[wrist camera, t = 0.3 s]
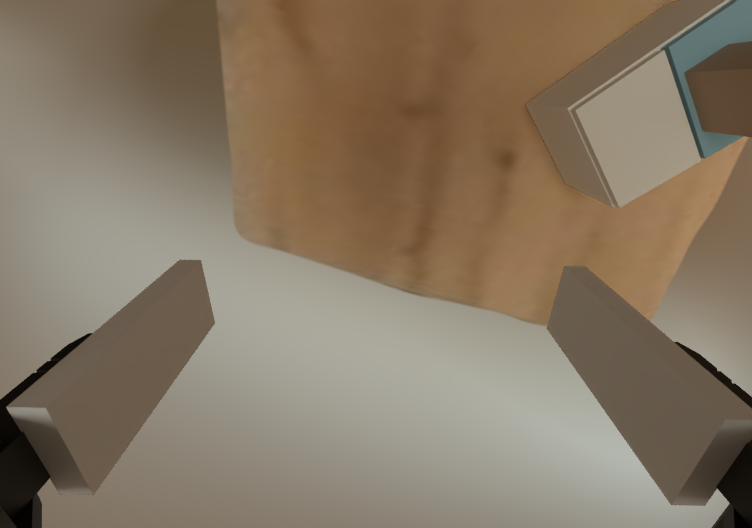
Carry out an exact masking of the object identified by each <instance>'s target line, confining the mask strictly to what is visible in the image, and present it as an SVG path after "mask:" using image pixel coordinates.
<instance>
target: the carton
mask: <svg viewBox="0 0 752 528" xmlns="http://www.w3.org/2000/svg"><path fill="white" fill-rule="evenodd" d="M730 1H731V0H679V1H676V2H673V3H670V4H666V5H665V6H663V7H662V8H660V9H659V10H658V11H656V12H655V13H653V14H652V15H651V16H649V17H648V18H646V19H645V20H644V21H642V22H641V23H639V24H638V25H636V26H635V27H634V28H632V29H631V30H629V31H628V32H627V33H625V34H624V35H622V36H621V37H620V38H618V39H617V40H615V41H614V42H612V43H611V44H610V45H608V46H607V47H605V48H604V49H603V50H601V51H600V52H598V53H597V54H596V55H594V56H593V57H591V58H590V59H589V60H587V61H586V62H584V63H583V64H581V65H580V66H579V67H577V68H576V69H574V70H573V71H572V72H570V73H569V74H567V75H566V76H565V77H563V78H562V79H560V80H559V81H558V82H556V83H555V84H553V85H552V86H550V87H549V88H548V89H546V90H545V91H543V92H542V93H541V94H539V95H538V96H536V97H535V98H534V99H532V100H531V101H529V102H528V103H526V104H525V105H526V107H527V109H528V111H529V113H530V115H531V117H532V119H533V121H534V123H535V125H536V127H537V129H538V131H539V133H540V135H541V137H542V139H543V141H544V143H545V145H546V147H547V149H548V151H549V153H550V155H551V156H552V158H553V160H554V162H555V164H556V166H557V168H558V170H559V172H560V174H561V176H562V178H563V180H564V182H565V184H567V185H569V186H571V187H573V188H575V189H577V190H579V191H581V192H583V193H585V194H587V195H589V196H591V197H593V198H595V199H597V200H599V201H601V202H603V203H605V204H607V205H609V206H611V207H615V206H617V207H619V208H621V207H622V206H624V205H626V204H627V203H629V202H631V201H633V200H634V199H636V198H638V197H639V196H641V195H643V194H645V193H646V192H648V191H650V190H652V189H653V188H655V187H657V186H658V185H660V184H662V183H664V182H665V181H667V180H669V179H671V178H672V177H674V176H676V175H677V174H679V173H681V172H683V171H684V170H686V169H688V168H690V167H691V166H693V165H695V164H696V163H698V162H700V161H701V159H700V155H699V152H698V149H697V146H696V143H695V140H694V137H693V134H692V131H691V128H690V125H689V122H688V119H687V116H686V113H685V110H684V107H683V104H682V101H681V98H680V95H679V92H678V89H677V86H676V83H675V80H674V77H673V74H672V71H671V68H670V65H669V62H668V59H667V56H666V53H665V50H661V48H662V47H663V46H665V45H666V44H668V43H669V42H671V41H672V40H674V39H675V38H677V37H678V36H680V35H681V34H683V33H684V32H686V31H687V30H689V29H690V28H691V27H693V26H694V25H696V24H697V23H699V22H700V21H702V20H703V19H705V18H706V17H708V16H709V15H711V14H712V13H714V12H715V11H716V10H718V9H719V8H721V7H722V6H724V5H725V4H727V3H728V2H730Z"/></svg>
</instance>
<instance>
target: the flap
mask: <svg viewBox="0 0 752 528" xmlns="http://www.w3.org/2000/svg"><path fill="white" fill-rule="evenodd" d="M661 50H665V53H666V56H667V59H668V62H669V65H670V68H671V71H672V74H673V77H674V80H675V83H676V86H677V89H678V92H679V95H680V98H681V101H682V104H683V107H684V110H685V113H686V116H687V119H688V122H689V125H690V128H691V131H692V134H693V137H694V140H695V143H696V146H697V149H698V152H699V155H700V158H707V157H709V156H710V155H712V154H714V153H715V152H717V151H719V150H721V149H722V148H724V147H726V146H728V145H729V144H731V143H733V142H734V141H736V140H738V139H740V138H741V137H743V136H747V137H752V0H731V1H730V2H728V3H727V4H725V5H724V6H722V7H721V8H719V9H718V10H716V11H715V12H714V13H712V14H711V15H709V16H708V17H706V18H705V19H703V20H702V21H700V22H699V23H697V24H696V25H694V26H693V27H691V28H690V29H689V30H687V31H686V32H684V33H683V34H681V35H680V36H678V37H677V38H675V39H674V40H672V41H671V42H669V43H668V44H666V45H665V46H663V47H662V48H661Z"/></svg>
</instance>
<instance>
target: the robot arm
mask: <svg viewBox="0 0 752 528" xmlns="http://www.w3.org/2000/svg"><path fill="white" fill-rule="evenodd" d="M214 323H215V321H214V316H213V312H212V308H211V303H210V299H209V294H208V290H207V285H206V281H205V276H204V272H203V268H202V263H201V260H179V261H178V262H176V263H175V264H174V265H173V266H172V267H171V268H169V269H168V270H167V271H166V272H165V273H164V274H162V275H161V276H160V277H159V278H158V279H156V280H155V281H154V282H153V283H152V284H151V285H149V286H148V287H147V288H146V289H145V290H143V291H142V292H141V293H140V294H139V295H138V296H137V297H135V298H134V299H133V300H132V301H131V302H130V303H128V304H127V305H126V306H125V307H123V308H122V309H121V310H120V311H119V312H118V313H116V314H115V315H114V316H113V317H112V318H110V319H109V320H108V321H107V322H106V323H105V324H103V325H102V326H101V327H100V328H99V329H97V330H96V331H95V332H94V333H89V334H87V335H85V336H83V337H81V338H79V339H78V340H76V341H74V342H72V343H70V344H68V345H67V346H66V347H64V348H63V349H62V350H61V351H59V352H58V353H57V354H56V355H55V356H53V357H52V358H51V361H47V362H46V363H45V364H44V365H42V366H41V367H40V368H39V369H37V372H36V373H33V374H31V375H30V376H29V377H28V378H26V379H25V380H24V381H23V382H21V383H20V384H19V385H18V386H17V387H15V388H14V389H13V390H12V391H10V392H9V393H8V394H7V395H6V396H4V397H3V398H2V399H1V400H0V528H42V503H41V501H40V498H39V496H38V494H37V492H38V491H39V490H40V489H41V487H42V486H43V485H44V484H45V483H46V482H47V480H48V479H49V478H50V479H51V481H52V483H53V484H54V486H55V487H56V489H57V491H58V492H59V494H61V495H94V494H95V492H96V491H97V489H98V488H99V487H100V485H101V484H102V482H103V481H104V479H105V478H106V477H107V475H108V474H109V472H110V471H111V470H112V468H113V467H114V465H115V464H116V463H117V461H118V460H119V458H120V457H121V455H122V454H123V453H124V451H125V450H126V448H127V447H128V446H129V444H130V442H131V441H132V440H133V438H134V437H135V436H136V434H137V433H138V431H139V430H140V428H141V427H142V426H143V424H144V423H145V421H146V420H147V418H148V417H149V416H150V414H151V413H152V411H153V410H154V409H155V407H156V406H157V404H158V403H159V402H160V400H161V399H162V397H163V396H164V395H165V393H166V392H167V390H168V389H169V387H170V386H171V385H172V383H173V382H174V380H175V379H176V378H177V376H178V375H179V373H180V372H181V370H182V369H183V368H184V366H185V365H186V363H187V362H188V361H189V359H190V358H191V356H192V355H193V353H194V352H195V351H196V349H197V348H198V346H199V345H200V344H201V342H202V341H203V339H204V338H205V336H206V335H207V334H208V332H209V331H210V329H211V328H212V326H213V325H214ZM547 329H548V331H549V332H550V334H551V335H552V337H553V338H554V339H555V341H556V342H557V344H558V345H559V347H560V348H561V349H562V351H563V352H564V354H565V355H566V357H567V358H568V359H569V361H570V362H571V363H572V365H573V366H574V368H575V369H576V371H577V372H578V373H579V375H580V376H581V378H582V379H583V381H584V382H585V383H586V385H587V386H588V388H589V389H590V391H591V392H592V393H593V395H594V396H595V398H596V399H597V400H598V402H599V403H600V405H601V406H602V408H603V409H604V410H605V412H606V413H607V415H608V416H609V418H610V419H611V420H612V422H613V423H614V424H615V426H616V427H617V429H618V430H619V432H620V433H621V435H622V436H623V437H624V439H625V440H626V441H627V443H628V444H629V446H630V447H631V449H632V450H633V452H634V453H635V454H636V456H637V457H638V459H639V460H640V462H641V463H642V464H643V466H644V467H645V469H646V470H647V471H648V473H649V474H650V476H651V477H652V479H653V480H654V481H655V483H656V484H657V486H658V487H659V488H660V489H661V491H662V493H663V494H664V496H665V497H666V498H667V500H668V501H669V502H670V504H671V505H701V506H705V505H706V503H707V502H708V500H709V499H710V498H711V496H712V495H713V493H714V492H715V491H716V489H717V488H718V490H719V491H720V492H721V493H722V494H723V496H724V497H725V498H726V499H727V500H728V501H729V503H730V504H729V505H728V507H727V508H726V509H725V511H724V512H723V513H722V515H721V516H720V517H719V519H718V520H717V521H716V523H715V524H714V525H713V527H712V528H752V397H751V396H750V395H749V394H747V393H746V392H745V391H743V390H742V389H741V388H740V387H739V386H738V385H736V384H732V382H731V380H730V379H729V378H728V377H727V376H725V375H724V374H723V373H722V372H721V371H717V368H716V367H714V366H713V365H712V364H711V363H710V362H708V361H707V360H706V359H705V358H703V357H702V356H701V355H700V354H698V353H696V352H695V351H693V350H691V349H689V348H687V347H686V346H684V345H682V344H680V343H678V342H673V341H672V340H671V339H669V337H667V336H666V335H665V334H664V333H663V332H661V331H660V330H659V329H658V328H657V327H656V326H654V325H653V324H652V323H651V322H650V321H649V320H647V319H646V318H645V317H644V316H643V315H642V314H640V313H639V312H638V311H637V310H636V309H635V308H633V307H632V306H631V305H630V304H629V303H628V302H626V301H625V300H624V299H623V298H622V297H620V296H619V295H618V294H617V293H616V292H615V291H613V290H612V289H611V288H610V287H609V286H608V285H606V284H605V283H604V282H603V281H602V280H601V279H599V278H598V277H597V276H596V275H595V274H594V273H592V272H591V271H590V270H589V269H588V268H586V267H582V266H564V269H563V272H562V276H561V279H560V283H559V287H558V290H557V294H556V297H555V301H554V305H553V308H552V312H551V316H550V319H549V323H548V326H547Z"/></svg>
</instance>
